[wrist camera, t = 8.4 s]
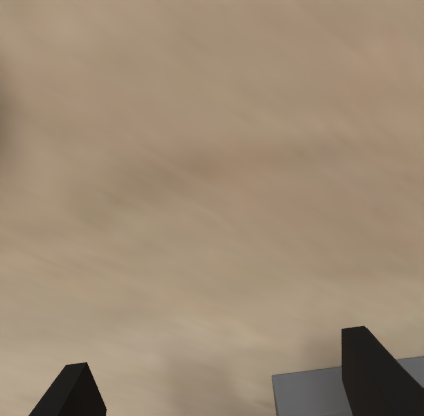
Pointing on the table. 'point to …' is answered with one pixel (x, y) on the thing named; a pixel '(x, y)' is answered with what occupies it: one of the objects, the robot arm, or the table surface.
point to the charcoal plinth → (324, 390)
